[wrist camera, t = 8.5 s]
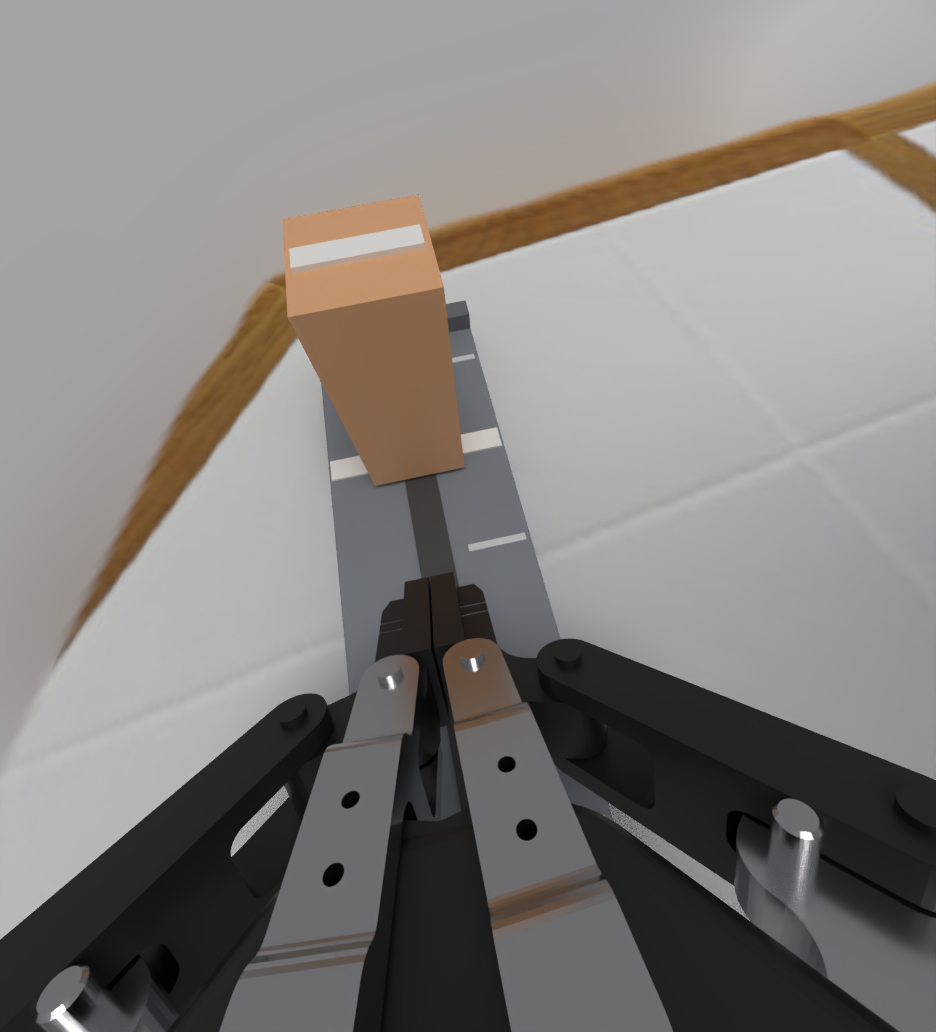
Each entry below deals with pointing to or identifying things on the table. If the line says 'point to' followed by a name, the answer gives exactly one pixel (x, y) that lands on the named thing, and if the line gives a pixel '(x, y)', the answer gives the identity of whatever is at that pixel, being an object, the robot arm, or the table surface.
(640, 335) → the table surface
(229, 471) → the table surface
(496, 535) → the fader rail
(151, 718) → the table surface
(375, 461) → the fader tab
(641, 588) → the table surface
